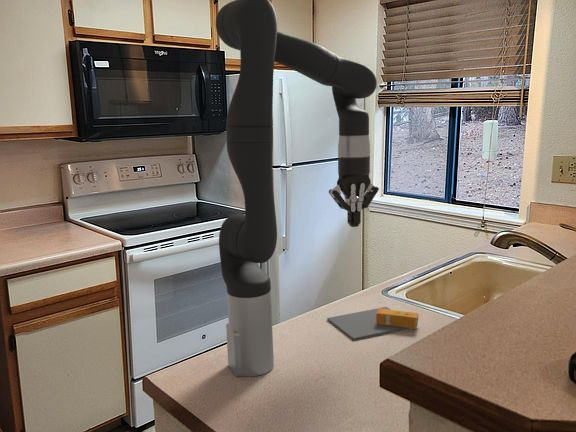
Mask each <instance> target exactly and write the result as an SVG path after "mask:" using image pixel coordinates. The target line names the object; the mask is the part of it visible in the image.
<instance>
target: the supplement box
mask: <svg viewBox="0 0 576 432" xmlns="http://www.w3.org/2000/svg"><path fill="white" fill-rule="evenodd" d="M376 323H377V324H380V325H388V326H397V327H406V328H411V329H415V330H416V329H418V324H419V312H411V311H403V310H395V309H391V310H388V309H378V312H377V314H376Z"/></svg>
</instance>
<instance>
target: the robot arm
mask: <svg viewBox="0 0 576 432" xmlns="http://www.w3.org/2000/svg"><path fill="white" fill-rule="evenodd" d="M215 28H216V32H217V35H218V37H219V38H220V40H221V41H222V42H223V44H224V45H226V46H227V47H229V48H231V49H234V50H236V51H237V50H238V51H240V53H239V55H240V63H239V65H240V66H239V67H240V68H239V76H238V79H237V83H236V86H235V89H234V92H233V95H232V97H231V100H230V103H229V105H228V110H227V112H226V113H227V115H226V123H225V124H226V125H225V126H226V127H225V129H226V131H225V134H226V137H225V138H226V139H225V140H226V150H227V156H228V158H229V161H230V164H231V165H232V169H233V171H234V173H235V174H236V177H237V179H238V181H239V183H240V187H241V188H242V189H241V190H242V194H243V198H244V214H241V213H235V214H231V215H230V216H228V217H226V219H225V220H223V222H222V224H221V226H220V230H219V234H218V235H219V236H218V251H219V258H220V267H221V269H220V270H221V277H222V279H223V281H224V284H225V285H226V296H227V297H226V298H227V316H228V323H226V324H225V326H226V327H225V329H226V346H227V347H226V348H227V363H228V364H227V365H228V367H229V369H230V370H231V371H232V373H233V374H234V376H235V377H242V376H243V377H257V376H262V375H265V374H267V373H269V372H270V371H272V370H273V368H274V366H275V365H274V364H275V363H274V360H275V357H274V356H275V355H274V340H273V339H274V335H273V334H274V332H273V313H272V312H273V311H272V309H273V307H272V284H271V278H270V276H269V274H267V273H266V272H265V271H264V270H263V269H262V268H261V266H259V264H264V263H267V262H268V261H269V260H270V259H271V258H272V257H273V255H274V254H275V252H276V251H275V250H276V248H277V243H278V228H277V227H278V225H277V215H276V205H275V191H274V171H273V170H274V169H273V167H274V166H273V153H274V119H273V118H274V117H273V114H274V113H273V109H274V108H273V103H274V101H273V100H274V70H275V69H274V68H275V63H277V64H278V65H279V64H280V65H282V66H283V67H286V68H288V69H291V70H293V71H294V72H297V73H299V74H301V75H302V76H305V77H306V78H309V79H310V80H312V81H314V82H317V83H318V84H320V85H323V86H327V87H331V92H332V97H333V101H334V105H335V109H336V112H337V115H338V141H337V142H338V143H337V144H338V145H337V174H338V178H337V181H336V185H335V187H333V188H330V189H329V190H328V194H329V195H330V196H331V198H332V199H333V200H334V202H335V203H336V204H337V206H338V208H340V209H342V210H345V211H346V212H347V218H346V220H347V224H348V225H349V227H351V228H355V227H359V225H360V224H361V221H362V220H361V219H362V218H361V215H362V213H361V212H362V210H364V209H367V208H368V207H369V206H370V204H371V203H372V201H373V199H374V198H375V197H376V195H377V193H378V192H379V190H380V189H379V187H378V186H375V185H374V184H373V183H372V181H371V178H370V173H371V144H370V115H369V113H368V111H367V110H365V109H361V108H359V106H358V103H357V99H361V100H362V99H366V98H368V97H370V96H372V95H373V94H374V93H375V91H376V89H377V85H378V81H377V76H376V74H375V73H374V71H373V70H372V69H371V68H369V67H368V66H366V65H365V64H362V63H360V62H357V61H353V60H352V59H347V58H345V57H341V56H338V55H337V54H336V53H334V52H332V51H330V50H329V49H327V48H325V47H323V46H322V45H320V44H317V43H316V42H312V41H309V40H307V39H303V38H299V37H296V36H293V35H292V36H291V35H289V34H285V33H283V32H281V31H278V19H277V13H276V9H275V7H274V6H273V4H272V2H271V1H270V0H233V1H230V2H228V3H226V4H225V5H223V6H222V7H221V8H220V9H219V10H218V12H217V14H216V16H215ZM342 194H343V196H344V198H343V196H342Z"/></svg>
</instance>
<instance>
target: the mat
mask: <svg viewBox="0 0 576 432" xmlns="http://www.w3.org/2000/svg"><path fill="white" fill-rule="evenodd" d="M378 309H388V310H392V309H391V308H389V307H388V306H383V307H378V308H373V309H366V310H362V311H357V312H352V313H351V312H350V313H346V314H342V315H336V316H329V317H327V322H329V323H331V325H333V326H334V327H335V328H336V329H338V330H339V331H340V332H341V333H343V334H344V335H346V336H347V337H348V338H349V339H351V340H352V341H359V340H362V339H368V338H373V337H376V336H382V335H388V334H391V333H396V332H401V331H406V330H410V329H411V330H412V328H406V327H397V326H388V325H380V324H377V323H376V314H377V312H378Z"/></svg>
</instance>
